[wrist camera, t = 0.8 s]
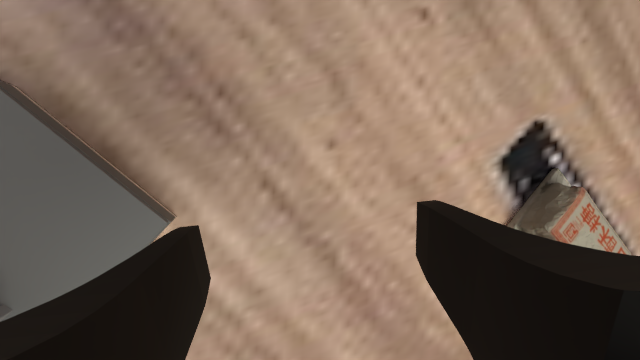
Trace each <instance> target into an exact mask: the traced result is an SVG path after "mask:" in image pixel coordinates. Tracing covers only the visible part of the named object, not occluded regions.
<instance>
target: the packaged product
mask: <svg viewBox="0 0 640 360" xmlns="http://www.w3.org/2000/svg"><path fill="white" fill-rule="evenodd" d="M507 226H508V227H511V228H514V229H517V230H520V231H523V232H526V233H530V234H533V235H536V236H540V237H544V238H548V239H552V240H555V241H559V242H563V243H568V244H572V245H577V246H582V247H587V248H592V249H597V250H603V251H608V252H614V253H621V254H627V255H632V254H631V253H630V251H629V250H628V249H627V247H626V246H625V244H624V243H623V242H622V240H621V239H620V238H619V236H618V235H617V234H616V232H615V231H614V229H613V228H612V227H611V225H610V224H609V223H608V221H607V220H606V218H605V217H604V215H603V214H602V213H601V211H600V210H599V209H598V207H597V206H596V204H595V203H594V202H593V200H592V199H591V197H590V196H589V194H588V193H587V191H586V190H585V189H584V188H583V187H576V186H571V185H570V183H569V182H568V181H567V180H566V178H565V177H564V175H563V174H562V173H561V171H560V170H559V169H558V168H555V169H553V170H551V171H550V172H549V174H548V175H547V176H546V177H545V179H544V180H543V181H542V182H541V183H540V185H539V186H538V187H537V188H536V190H535V191H534V192H533V193H532V195H531V196H530V197H529V198H528V200H527V201H526V202H525V204H524V205H523V206H522V208H521V209H520V210H519V211H518V212H517V214H516V215H515V216H514V217H513V219H512V220H511V221H510V223H509V224H508V225H507Z"/></svg>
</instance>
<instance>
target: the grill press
mask: <svg viewBox="0 0 640 360" xmlns="http://www.w3.org/2000/svg"><path fill="white" fill-rule="evenodd" d="M168 222H169V221H167V220H166V219H165V218H164V217H162V216H161V215H160V214H159V213H157V212H156V211H155V210H154V209H152V208H151V207H150V206H148V205H147V204H146V203H145V202H143V201H142V200H141V199H140V198H138V197H137V196H136V195H135V194H133V193H132V192H131V191H130V190H128V189H127V188H126V187H125V186H123V185H122V184H121V183H120V182H118V181H117V180H116V179H115V178H113V177H112V176H111V175H110V174H108V173H107V172H106V171H105V170H103V169H102V168H101V167H100V166H98V165H97V164H96V163H95V162H93V161H92V160H91V159H90V158H88V157H87V156H86V155H85V154H83V153H82V152H81V151H80V150H78V149H77V148H76V147H75V146H73V145H72V144H71V143H70V142H68V141H67V140H66V139H65V138H63V137H62V136H61V135H60V134H58V133H57V132H56V131H55V130H53V129H52V128H51V127H50V126H48V125H47V124H46V123H45V122H43V121H42V120H41V119H40V118H38V117H37V116H36V115H35V114H33V113H32V112H31V111H30V110H28V109H27V108H26V107H25V106H23V105H22V104H21V103H20V102H18V101H17V100H16V99H15V98H13V97H12V96H11V95H10V94H8V93H7V92H6V91H5V90H3V89H2V88H1V87H0V322H1V321H4V320H6V319H9V318H11V317H13V316H16V315H18V314H20V313H23V312H25V311H27V310H30V309H32V308H34V307H37V306H39V305H41V304H43V303H46V302H48V301H50V300H53V299H55V298H57V297H59V296H61V295H63V294H65V293H67V292H69V291H71V290H73V289H75V288H77V287H79V286H81V285H83V284H85V283H87V282H89V281H90V280H92V279H94V278H96V277H98V276H99V275H101V274H103V273H105V272H106V271H108V270H110V269H111V268H113V267H115V266H116V265H118V264H120V263H121V262H123V261H125V260H126V259H128V258H130V257H131V256H133V255H134V254H136V253H138V252H139V251H141V250H142V249H143V248H144V247H145V246H146V245H147V244H148V243H149V242H150V241H151V240H152V239H153V238H154V237H155V236H156V235H157V234H158V232H159V231H160V230H161V229H162V228H163V227H164V226H165V225H166V224H167V223H168Z"/></svg>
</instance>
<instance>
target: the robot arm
mask: <svg viewBox="0 0 640 360" xmlns="http://www.w3.org/2000/svg"><path fill="white" fill-rule="evenodd" d="M416 256H417V259H418V261H419V264H420V266H421V269H422V271H423V273H424V275H425V278H426V280H427V281H428V283H429V285H430V287H431V288H432V290H433V292H434V293H435V295H436V296H437V298H438V300H439V301H440V303H441V305H442V306H443V308H444V309H445V311H446V313H447V314H448V316H449V317H450V319H451V321H452V322H453V324H454V326H455V327H456V329H457V330H458V332H459V334H460V335H461V337H462V339H463V340H464V342H465V344H466V346H467V348H468V349H469V351H470V353H471V355H472V357H473V360H640V256H634V255H627V254H621V253H614V252H608V251H603V250H597V249H592V248H587V247H582V246H577V245H572V244H568V243H563V242H559V241H555V240H552V239H548V238H544V237H540V236H536V235H533V234H530V233H526V232H523V231H520V230H517V229H514V228H511V227H508V226H505V225H502V224H499V223H496V222H494V221H491V220H488V219H486V218H483V217H480V216H478V215H475V214H473V213H470V212H468V211H465V210H463V209H460V208H458V207H455V206H452V205H450V204H447V203H444V202H441V201H436V200H433V201H423V202H417V230H416ZM210 280H211V277H210V273H209V268H208V264H207V260H206V256H205V251H204V247H203V243H202V238H201V234H200V230H199V226H198V225H197V226H188V227H179V228H177V229H175V230H173V231H171V232H169V233H168V234H166V235H164V236H163V237H161V238H159V239H158V240H156V241H155V242H153V243H152V244H150V245H148V246H147V247H145V248H144V249H142V250H141V251H139V252H138V253H136V254H134V255H133V256H131V257H130V258H128V259H126V260H125V261H123V262H121V263H120V264H118V265H116V266H115V267H113V268H111V269H110V270H108V271H106V272H105V273H103V274H101V275H99V276H98V277H96V278H94V279H92V280H90V281H89V282H87V283H85V284H83V285H81V286H79V287H77V288H75V289H73V290H71V291H69V292H67V293H65V294H63V295H61V296H59V297H57V298H55V299H53V300H50V301H48V302H46V303H43V304H41V305H39V306H37V307H34V308H32V309H30V310H27V311H25V312H23V313H20V314H18V315H16V316H13V317H11V318H9V319H6V320H4V321H1V322H0V360H185V359H186V356H187V353H188V351H189V348H190V345H191V343H192V340H193V337H194V335H195V332H196V329H197V326H198V324H199V321H200V318H201V315H202V313H203V310H204V307H205V303H206V299H207V295H208V290H209V285H210Z"/></svg>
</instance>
